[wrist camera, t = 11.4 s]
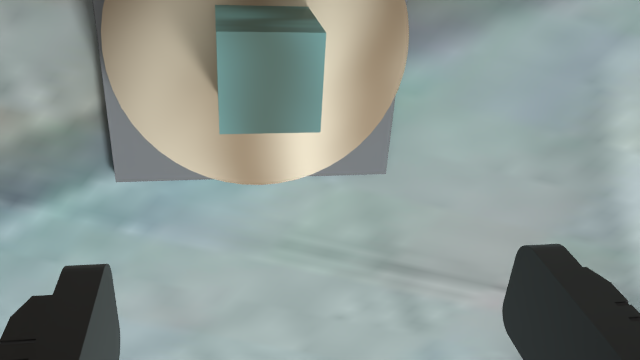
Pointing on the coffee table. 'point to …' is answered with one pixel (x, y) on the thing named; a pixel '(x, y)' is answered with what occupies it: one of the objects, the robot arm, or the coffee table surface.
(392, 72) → the lid
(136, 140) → the mat
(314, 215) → the coffee table surface
